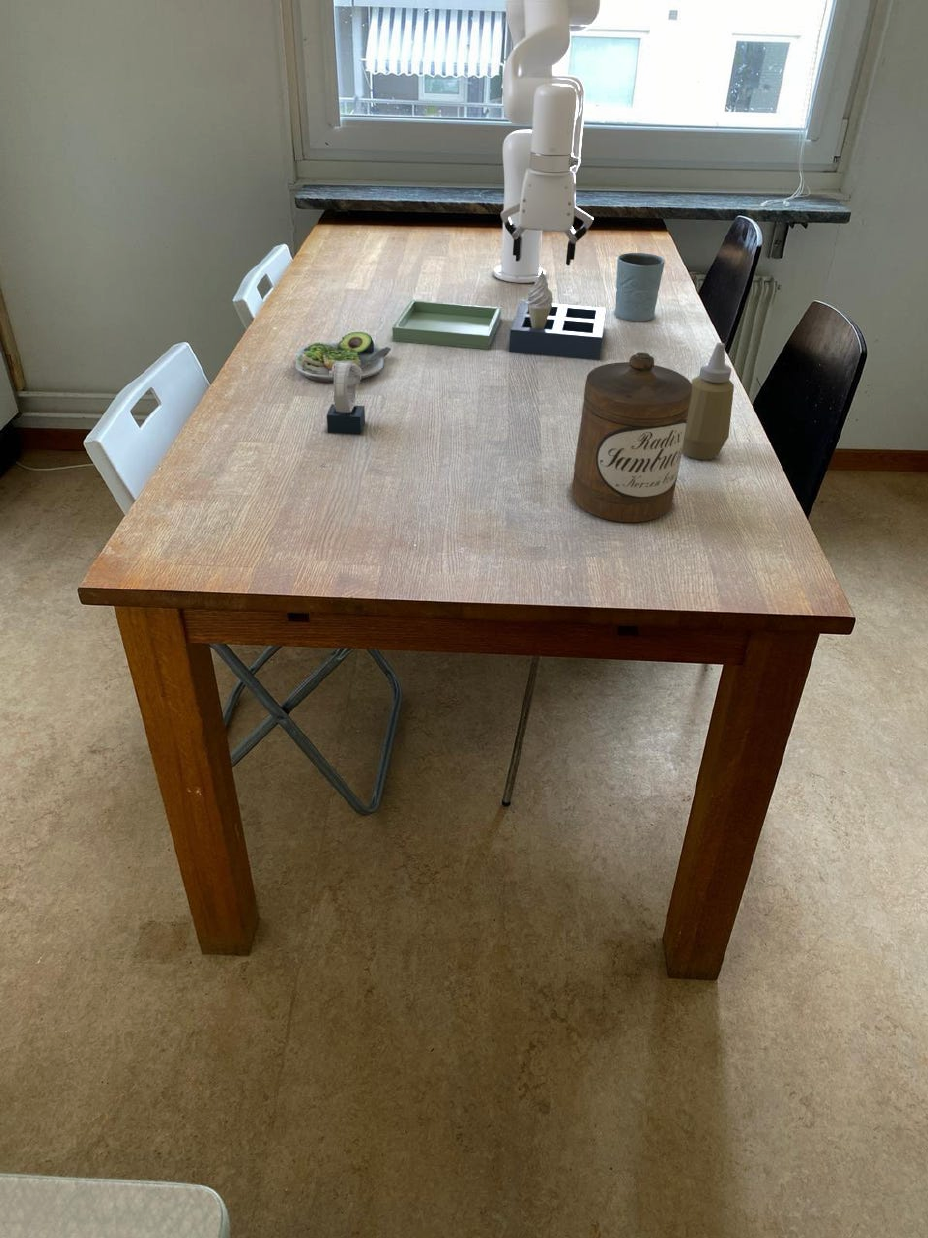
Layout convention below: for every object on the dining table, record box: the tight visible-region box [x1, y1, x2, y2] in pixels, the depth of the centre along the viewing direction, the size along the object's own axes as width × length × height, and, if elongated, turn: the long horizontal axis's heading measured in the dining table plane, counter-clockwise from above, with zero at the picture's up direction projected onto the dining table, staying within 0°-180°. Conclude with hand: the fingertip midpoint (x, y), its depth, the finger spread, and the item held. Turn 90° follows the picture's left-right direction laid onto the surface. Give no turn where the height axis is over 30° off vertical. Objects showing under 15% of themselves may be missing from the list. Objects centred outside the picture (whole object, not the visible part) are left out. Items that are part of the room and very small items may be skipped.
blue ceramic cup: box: [614, 252, 666, 323], centre depth 199 cm, size 10×10×12 cm
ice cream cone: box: [527, 268, 554, 329], centre depth 182 cm, size 5×5×15 cm
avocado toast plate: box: [294, 331, 392, 384], centre depth 171 cm, size 19×18×5 cm
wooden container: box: [571, 351, 692, 523], centre depth 130 cm, size 15×15×22 cm
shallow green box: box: [392, 299, 502, 350], centre depth 191 cm, size 18×20×3 cm
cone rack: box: [508, 300, 607, 361], centre depth 187 cm, size 18×18×4 cm
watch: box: [326, 361, 366, 435], centre depth 149 cm, size 6×8×11 cm
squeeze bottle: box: [682, 342, 735, 461], centre depth 144 cm, size 8×8×18 cm
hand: (543, 261), depth 176 cm, fingers open, 9 cm apart
